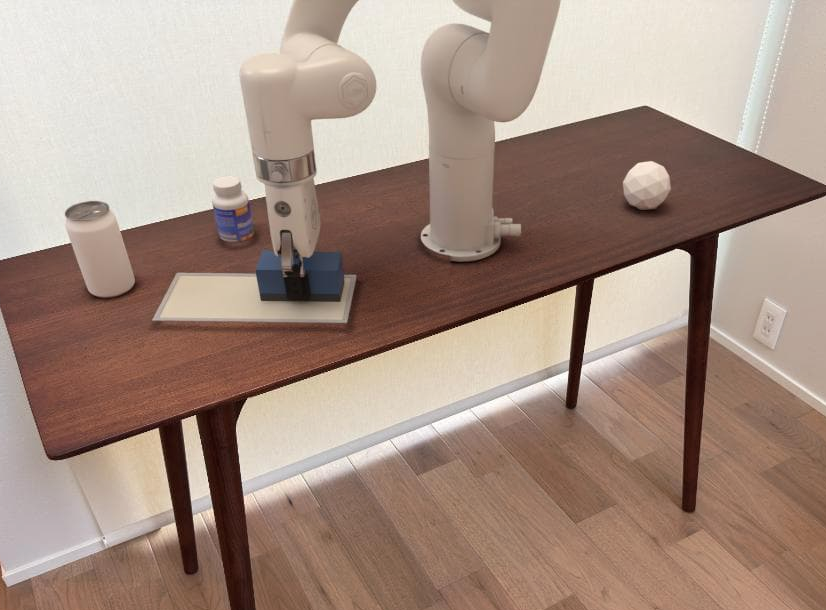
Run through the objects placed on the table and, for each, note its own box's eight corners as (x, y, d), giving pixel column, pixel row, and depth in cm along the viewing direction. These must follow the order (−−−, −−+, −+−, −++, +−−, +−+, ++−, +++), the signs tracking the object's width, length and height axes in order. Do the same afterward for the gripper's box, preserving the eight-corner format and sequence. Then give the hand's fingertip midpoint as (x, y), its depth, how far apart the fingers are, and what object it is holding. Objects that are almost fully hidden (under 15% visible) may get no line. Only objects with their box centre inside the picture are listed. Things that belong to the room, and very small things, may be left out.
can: (144, 286, 113) (121, 209, 105) (103, 304, 109) (76, 226, 101) (120, 270, 116) (97, 194, 108) (79, 287, 112) (52, 210, 104)
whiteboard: (357, 282, 114) (356, 274, 113) (347, 330, 105) (347, 322, 104) (178, 280, 114) (176, 272, 113) (154, 328, 105) (151, 320, 104)
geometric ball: (644, 227, 133) (646, 205, 126) (613, 196, 136) (613, 172, 128) (678, 198, 133) (682, 174, 126) (646, 168, 136) (648, 142, 128)
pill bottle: (247, 250, 121) (236, 191, 114) (214, 246, 121) (201, 187, 115) (261, 233, 125) (251, 175, 118) (229, 229, 125) (217, 172, 119)
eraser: (344, 282, 112) (341, 251, 108) (340, 302, 108) (337, 270, 105) (267, 281, 112) (262, 250, 108) (260, 301, 108) (254, 269, 105)
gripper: (304, 194, 91) (321, 322, 103) (324, 135, 104) (337, 255, 116) (240, 193, 91) (263, 321, 103) (268, 135, 104) (286, 255, 116)
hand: (302, 285), depth 109 cm, fingers open, 5 cm apart
